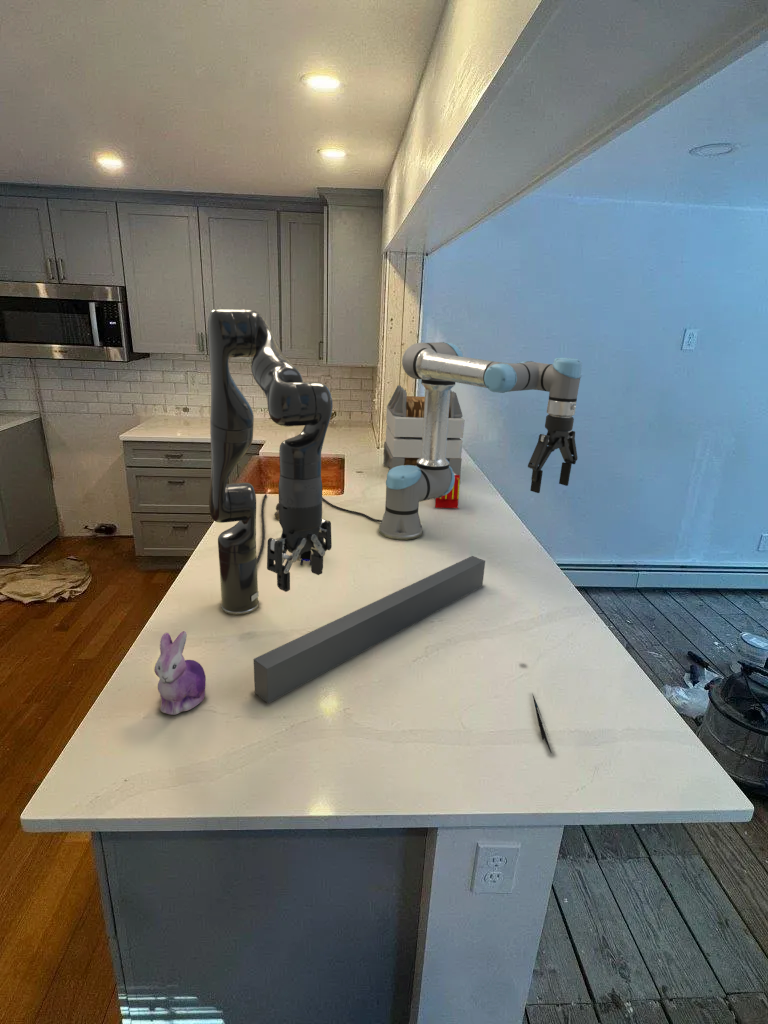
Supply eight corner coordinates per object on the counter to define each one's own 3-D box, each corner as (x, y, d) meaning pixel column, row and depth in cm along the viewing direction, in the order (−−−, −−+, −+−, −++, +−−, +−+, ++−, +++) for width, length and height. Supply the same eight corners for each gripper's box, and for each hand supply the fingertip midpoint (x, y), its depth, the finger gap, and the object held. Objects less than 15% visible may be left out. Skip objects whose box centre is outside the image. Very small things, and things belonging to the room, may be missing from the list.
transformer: (382, 463, 289) (386, 382, 275) (445, 464, 293) (451, 384, 279) (390, 482, 257) (394, 392, 243) (460, 483, 261) (468, 394, 247)
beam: (469, 581, 167) (472, 555, 165) (482, 586, 164) (485, 560, 162) (254, 693, 115) (253, 658, 112) (268, 703, 112) (266, 668, 110)
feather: (523, 669, 129) (529, 663, 128) (551, 758, 102) (558, 750, 101) (517, 665, 128) (523, 659, 128) (543, 753, 102) (550, 746, 101)
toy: (452, 466, 252) (464, 476, 223) (451, 496, 255) (462, 509, 226) (425, 465, 252) (433, 475, 222) (424, 495, 254) (431, 508, 225)
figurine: (161, 723, 106) (153, 655, 100) (154, 691, 114) (147, 626, 109) (213, 709, 110) (208, 643, 105) (202, 680, 118) (198, 616, 113)
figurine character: (316, 572, 171) (321, 547, 184) (316, 550, 168) (320, 527, 181) (294, 572, 171) (300, 547, 184) (293, 550, 167) (299, 526, 181)
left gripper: (312, 484, 106) (312, 562, 112) (254, 503, 95) (257, 589, 101) (343, 493, 102) (341, 574, 108) (286, 514, 91) (287, 602, 97)
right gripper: (543, 421, 148) (533, 498, 155) (597, 414, 163) (585, 484, 170) (521, 416, 153) (511, 491, 161) (574, 410, 168) (564, 478, 175)
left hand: (300, 581), depth 104 cm, fingers open, 8 cm apart
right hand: (549, 488), depth 165 cm, fingers open, 13 cm apart
